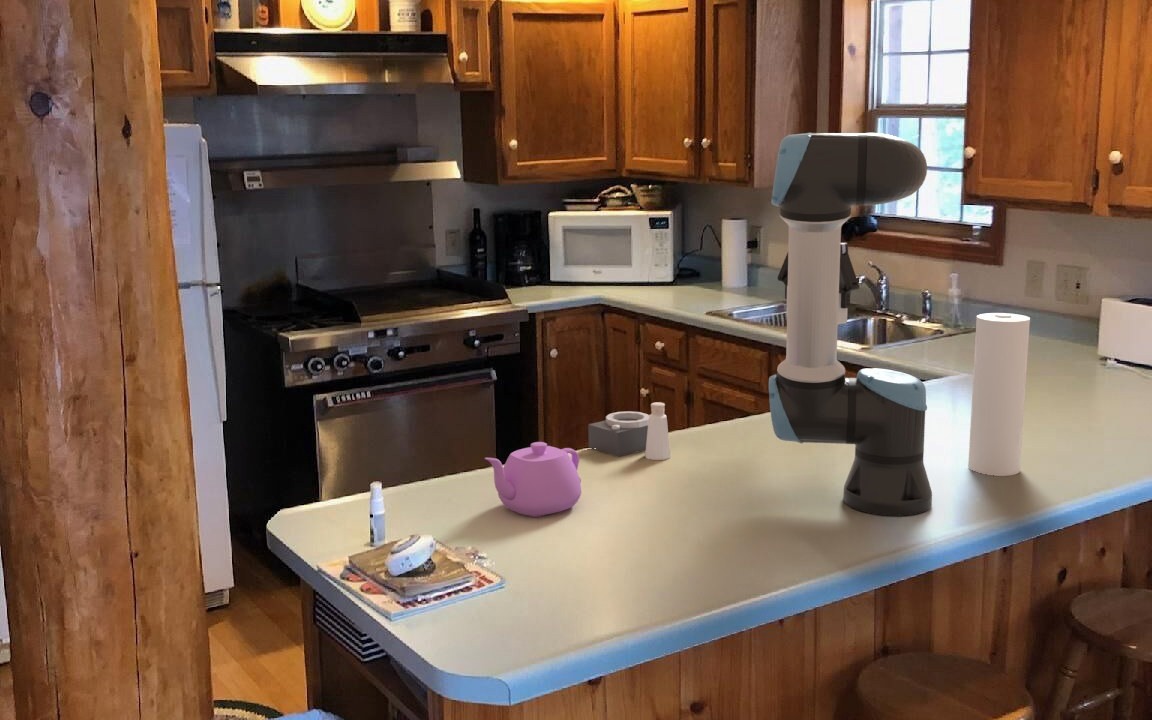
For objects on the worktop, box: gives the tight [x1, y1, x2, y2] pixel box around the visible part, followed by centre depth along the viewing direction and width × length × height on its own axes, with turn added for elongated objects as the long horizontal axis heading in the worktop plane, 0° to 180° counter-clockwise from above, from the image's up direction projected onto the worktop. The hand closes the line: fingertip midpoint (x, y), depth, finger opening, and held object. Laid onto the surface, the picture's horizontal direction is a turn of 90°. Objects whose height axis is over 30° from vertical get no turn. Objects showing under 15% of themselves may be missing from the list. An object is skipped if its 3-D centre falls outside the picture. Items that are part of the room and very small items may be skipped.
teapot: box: [484, 441, 582, 518], centre depth 208 cm, size 20×13×12 cm, turn 128°
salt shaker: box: [644, 401, 671, 461], centre depth 239 cm, size 5×5×11 cm
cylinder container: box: [967, 312, 1031, 477], centre depth 226 cm, size 9×9×30 cm
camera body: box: [587, 410, 669, 458], centre depth 247 cm, size 14×9×6 cm, turn 130°
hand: (816, 319), depth 249 cm, fingers open, 13 cm apart
